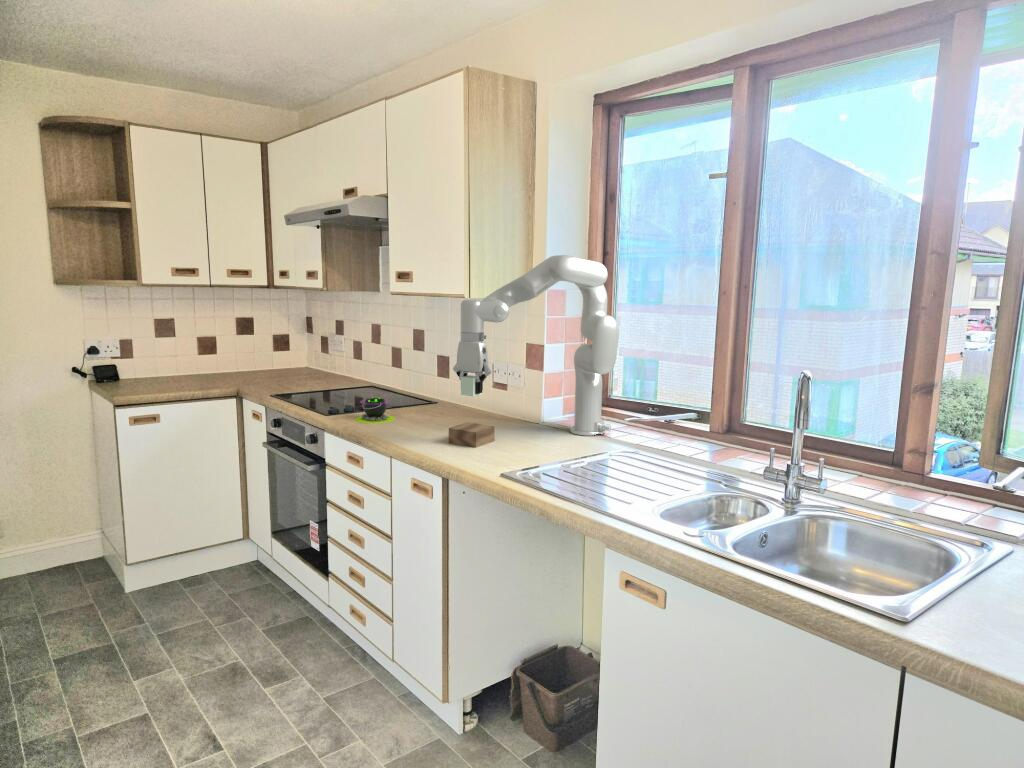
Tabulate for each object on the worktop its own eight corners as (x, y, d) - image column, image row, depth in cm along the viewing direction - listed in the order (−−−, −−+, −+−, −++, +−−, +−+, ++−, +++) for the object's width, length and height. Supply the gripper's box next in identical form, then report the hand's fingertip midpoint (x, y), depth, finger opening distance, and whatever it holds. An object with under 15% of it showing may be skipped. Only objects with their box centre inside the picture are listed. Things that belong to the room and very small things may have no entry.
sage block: (482, 394, 221) (482, 376, 220) (473, 396, 217) (473, 378, 216) (469, 392, 224) (469, 375, 223) (461, 394, 220) (461, 376, 219)
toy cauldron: (347, 419, 257) (347, 390, 255) (381, 413, 267) (380, 386, 265) (368, 425, 246) (367, 396, 244) (402, 420, 256) (402, 391, 254)
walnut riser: (494, 440, 225) (494, 426, 224) (475, 447, 216) (476, 432, 215) (468, 436, 231) (468, 422, 230) (448, 442, 221) (448, 428, 221)
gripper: (500, 338, 216) (499, 393, 219) (457, 335, 225) (457, 388, 228) (487, 340, 210) (486, 397, 213) (444, 336, 219) (444, 391, 222)
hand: (471, 392), depth 220 cm, fingers closed on sage block, 5 cm apart
